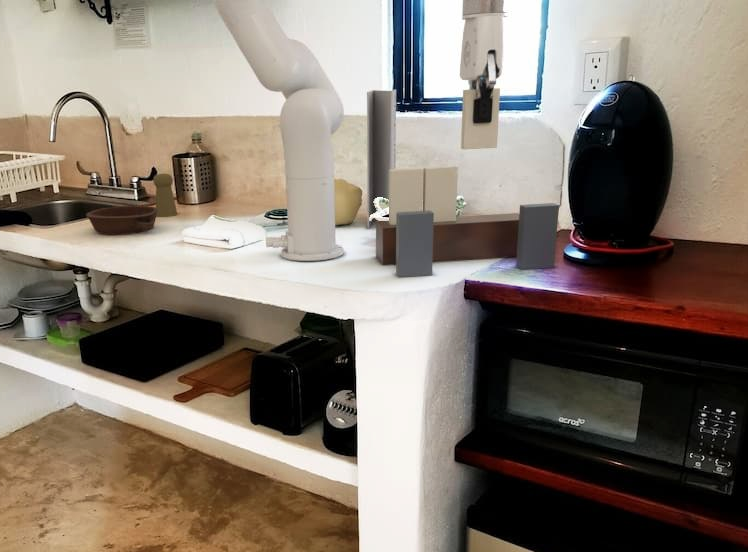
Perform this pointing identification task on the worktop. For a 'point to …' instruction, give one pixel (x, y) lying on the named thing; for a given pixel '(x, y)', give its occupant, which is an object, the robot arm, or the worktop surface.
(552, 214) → the grey rectangular block
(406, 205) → the cream book
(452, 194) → the cream book
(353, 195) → the sculpture
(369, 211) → the tall grey panel
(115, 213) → the dish
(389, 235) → the book shelf
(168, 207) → the olive pawn piece
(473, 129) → the cream book
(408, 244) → the grey book left
